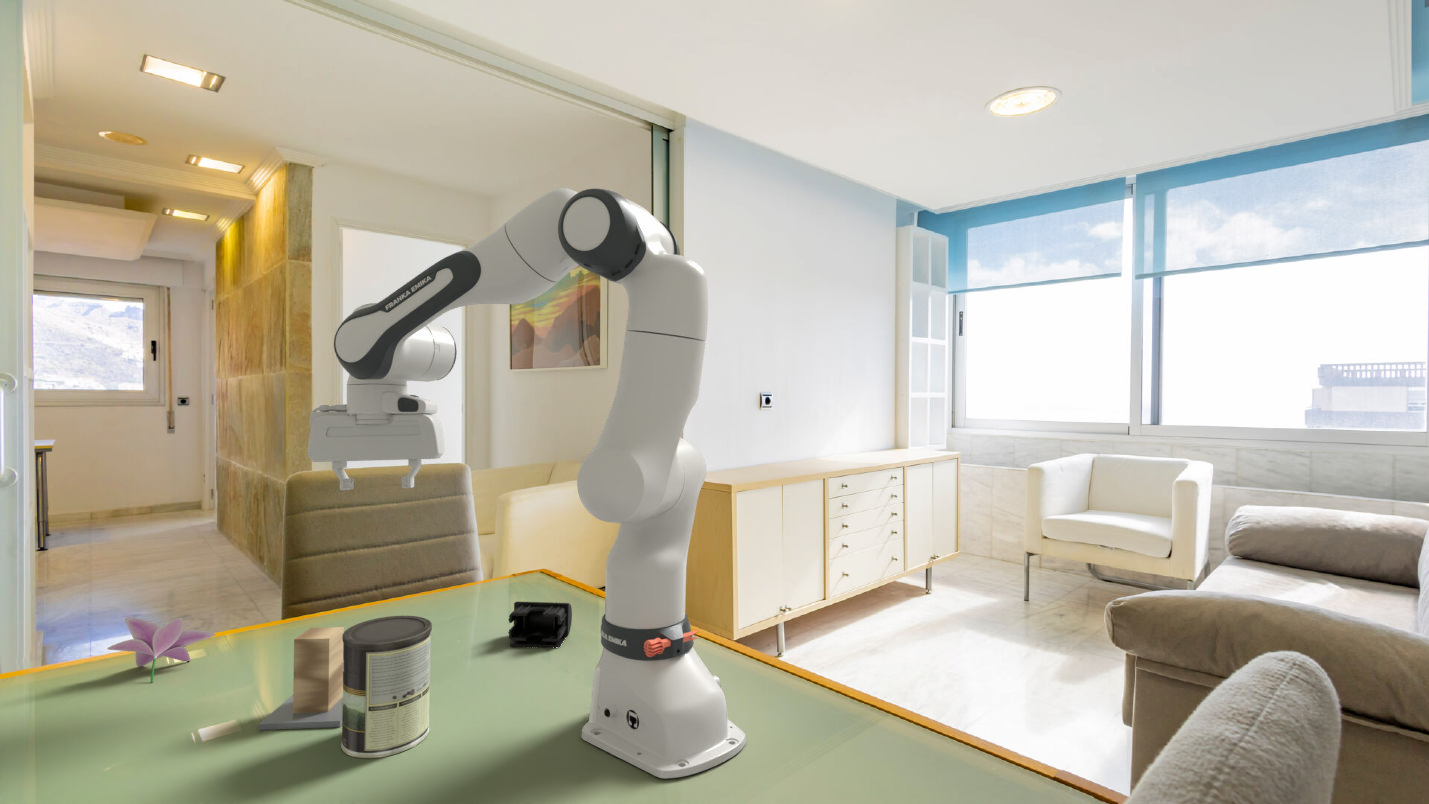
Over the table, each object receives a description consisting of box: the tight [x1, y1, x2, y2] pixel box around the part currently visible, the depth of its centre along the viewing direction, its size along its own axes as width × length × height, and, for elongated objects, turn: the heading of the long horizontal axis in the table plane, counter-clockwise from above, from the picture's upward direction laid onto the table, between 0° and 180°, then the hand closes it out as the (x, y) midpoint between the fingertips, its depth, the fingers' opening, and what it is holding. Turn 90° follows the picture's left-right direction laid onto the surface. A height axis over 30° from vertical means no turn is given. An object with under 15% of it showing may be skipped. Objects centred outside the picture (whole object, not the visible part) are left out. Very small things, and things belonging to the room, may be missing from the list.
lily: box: [106, 616, 216, 683], centre depth 102 cm, size 12×12×10 cm
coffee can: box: [340, 615, 433, 759], centre depth 84 cm, size 10×10×14 cm
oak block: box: [292, 626, 345, 713], centre depth 91 cm, size 4×4×10 cm
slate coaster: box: [258, 694, 343, 731], centre depth 91 cm, size 10×10×1 cm
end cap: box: [507, 601, 573, 649], centre depth 119 cm, size 10×7×7 cm
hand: (377, 488), depth 107 cm, fingers open, 8 cm apart
